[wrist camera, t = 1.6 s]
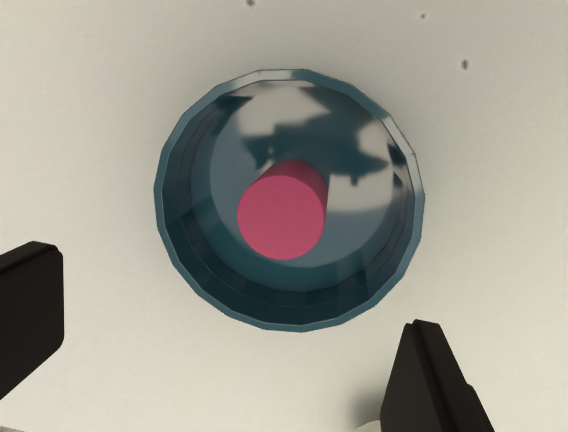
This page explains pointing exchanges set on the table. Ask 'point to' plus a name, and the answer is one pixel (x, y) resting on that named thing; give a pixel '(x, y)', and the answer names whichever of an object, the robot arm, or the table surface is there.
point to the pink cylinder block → (284, 210)
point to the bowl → (254, 162)
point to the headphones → (369, 427)
